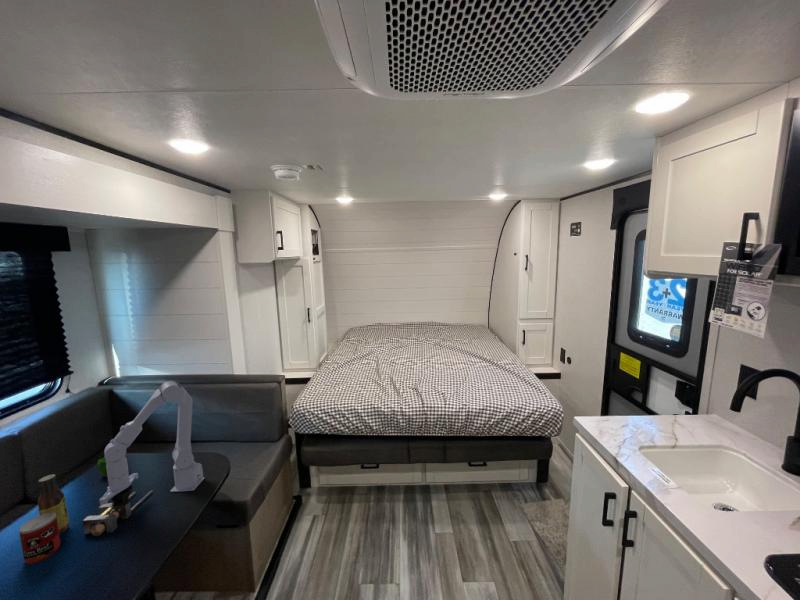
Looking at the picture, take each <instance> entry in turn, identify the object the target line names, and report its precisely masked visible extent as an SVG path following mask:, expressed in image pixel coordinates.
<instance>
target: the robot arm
mask: <svg viewBox="0 0 800 600" xmlns="http://www.w3.org/2000/svg"><path fill="white" fill-rule="evenodd" d="M167 402H169V403H174V404H175V405H178V406H177V407H178V408H177V423H176V424H177V425H176V427H177V429H176V442H175V444H174V445H175V446H174V449H173V450H172V454H171V457H172V459H173V461H174V465H173V466H172V469H173V478H174V486H173V487H172V488H171V489H170V493H176V492H190V491H191V492H192V491H195V490H196V489H197V487H198V486H199V485H200V484H201V483H202V482H203V481H204V479H205V477H204V472H203V465H202V464H201V462H200V463H199V462H196V461H195V456H194V454H193V451H192V443H191V437H192V420H193V403H194V401H193V397H192V396H191V395H190V394H189V392H187V390H186V389H185V388H184V387H183V386H182V384H181V383H178V382H177V381H175V380H166V381H164V382H163V383H162V384H161V385H160V386H159V388H157V389H156V390H155V391H154V392H153V394H152V395H151V396H150V398H149V399H148V401H147V402H146V403H145V404H144V405H143V407H142V409H141V410H140V411H139V412H138V414H137V415H136V416H135V418H134V419H133V420H132V421H128V422H127V423H125V424H124V425H121V426H120V428H119V432H118V433H117V434H116V435H115V437H114V438H112V439H110V441H109V442H108V444H107V445H106V446H105V448H104V450H103V453H104V457H105V459H106V464H107V465H106V468H107V482H108V486H107V487H106V490H107V491H106V492H105V493H104V494H103V496H102V497H100V498H99V500H98V501H99V506H101V505H102V504H107V503H109V501H110V500H111V501H112V503H119V502H129V500H130V499H129V496H130V495H131V494H132V493H131V492H132V490H133V485H131V484H132V483H133V481H135V480H137V479H139V473H138V472H136V473H135V472H134V473H132V474H129V473H130V471H129V466H128V459H127V457H126V454H127V449H128V448H129V447H130V446H131V445H132V443H133V442H134V441H135V440H136V438H137V437H138V436H139V434H140V433H141V432H142V431H143V424H144V423H145V422H146V421H147V420H148V418H149V417H150V416H151V415H152V414H153V412H154V411H155V410H156V409H157V408H158V407H160V406H161V407H162V406H164V405H167ZM104 457H103V458H104ZM128 499H129V500H128Z"/></svg>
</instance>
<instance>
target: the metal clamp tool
mask: <svg viewBox="0 0 800 600" xmlns="http://www.w3.org/2000/svg"><path fill="white" fill-rule="evenodd" d="M153 493H154V490H153V489H152V490H150V491H148V492H147V493H146V495H144V496H143V497H142V498H141V499H139V501H138V502H136V503H135V504H134V505H133V506H132V507H131V502H130V499H131V498H133V497H134V496H135V495H137V491H133V492H132V493H130V495H129V499H128V502H119V503H114V502H108V503H107V504H101V505H99V507H98V515H88V516H86V517H85V518H84V519H83V520H82V526H83V527H82V528H83V532H84V535H91V534H92V533H91V529H92V528H93V527H94V526H95V525H96V523H99V522H105V524H106V530H105V531H106V533H108V534H109V532H110V533H113V532H115V531H116V530H117V529H118V528H117V527H118V522H117V520H118V519H116V514H111V515H108V514H109V513H111V512H112V511H113V510H114V509H120V512H121V516H120V519H121V520H124V519H125V520H127V519H128V518H130V517H131V516H132V514H133V512H134V511H135V510H136V509H137V508H138V507H139V506H140V505H141V504H142V503H143V502H145V500H146V499H148V498H149V497H150V496H151V495H152V494H153ZM129 516H130V517H129ZM116 528H117V529H116ZM115 529H116V530H115ZM114 530H115V531H114Z"/></svg>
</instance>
